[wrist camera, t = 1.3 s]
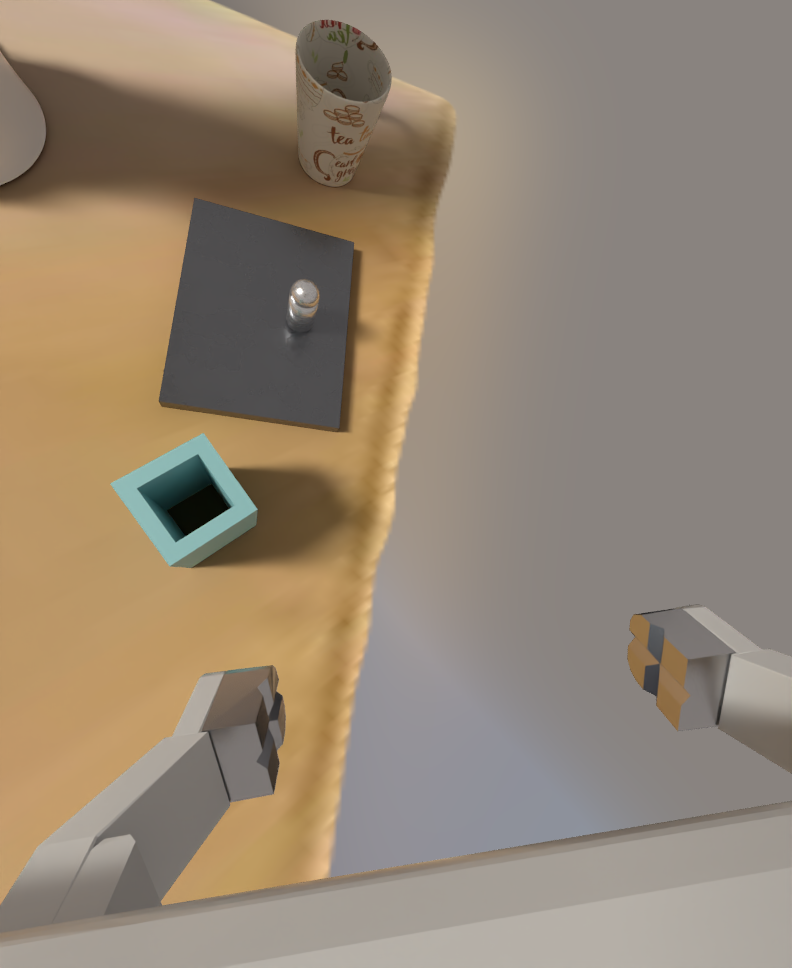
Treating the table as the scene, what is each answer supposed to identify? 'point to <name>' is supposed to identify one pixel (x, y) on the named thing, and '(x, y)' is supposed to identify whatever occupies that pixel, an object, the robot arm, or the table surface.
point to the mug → (337, 98)
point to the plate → (259, 321)
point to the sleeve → (172, 484)
